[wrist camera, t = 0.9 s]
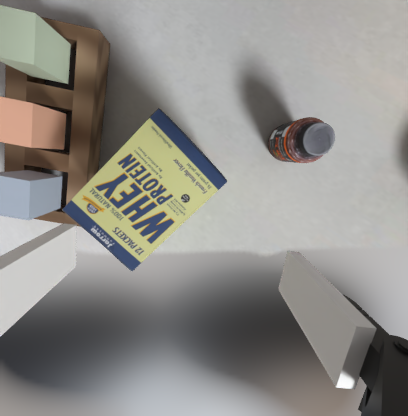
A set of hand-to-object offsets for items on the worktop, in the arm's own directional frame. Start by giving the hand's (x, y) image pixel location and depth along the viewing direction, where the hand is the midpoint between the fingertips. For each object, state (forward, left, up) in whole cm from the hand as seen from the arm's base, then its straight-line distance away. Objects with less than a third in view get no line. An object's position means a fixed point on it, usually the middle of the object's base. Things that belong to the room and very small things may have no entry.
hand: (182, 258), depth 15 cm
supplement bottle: (-11, +14, -27) cm, 32 cm away
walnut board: (-6, -22, -27) cm, 35 cm away
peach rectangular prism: (-6, -22, -23) cm, 32 cm away
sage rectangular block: (-15, -22, -23) cm, 35 cm away
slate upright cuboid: (+3, -22, -23) cm, 32 cm away
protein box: (-1, -5, -27) cm, 27 cm away
